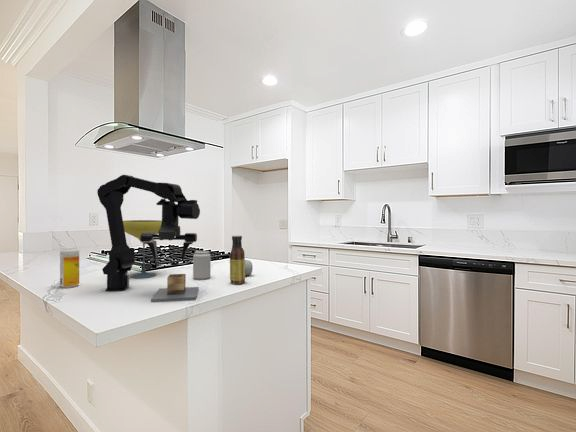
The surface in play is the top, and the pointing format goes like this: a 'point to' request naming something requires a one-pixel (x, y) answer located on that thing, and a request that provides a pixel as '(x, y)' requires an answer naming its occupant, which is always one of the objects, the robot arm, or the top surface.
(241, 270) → the sauce bottle
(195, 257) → the can
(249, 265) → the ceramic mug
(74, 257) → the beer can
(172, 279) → the oak sleeve
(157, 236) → the robot arm
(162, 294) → the pin board
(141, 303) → the top surface
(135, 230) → the cocktail glass
